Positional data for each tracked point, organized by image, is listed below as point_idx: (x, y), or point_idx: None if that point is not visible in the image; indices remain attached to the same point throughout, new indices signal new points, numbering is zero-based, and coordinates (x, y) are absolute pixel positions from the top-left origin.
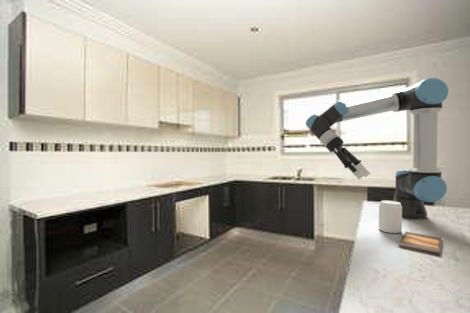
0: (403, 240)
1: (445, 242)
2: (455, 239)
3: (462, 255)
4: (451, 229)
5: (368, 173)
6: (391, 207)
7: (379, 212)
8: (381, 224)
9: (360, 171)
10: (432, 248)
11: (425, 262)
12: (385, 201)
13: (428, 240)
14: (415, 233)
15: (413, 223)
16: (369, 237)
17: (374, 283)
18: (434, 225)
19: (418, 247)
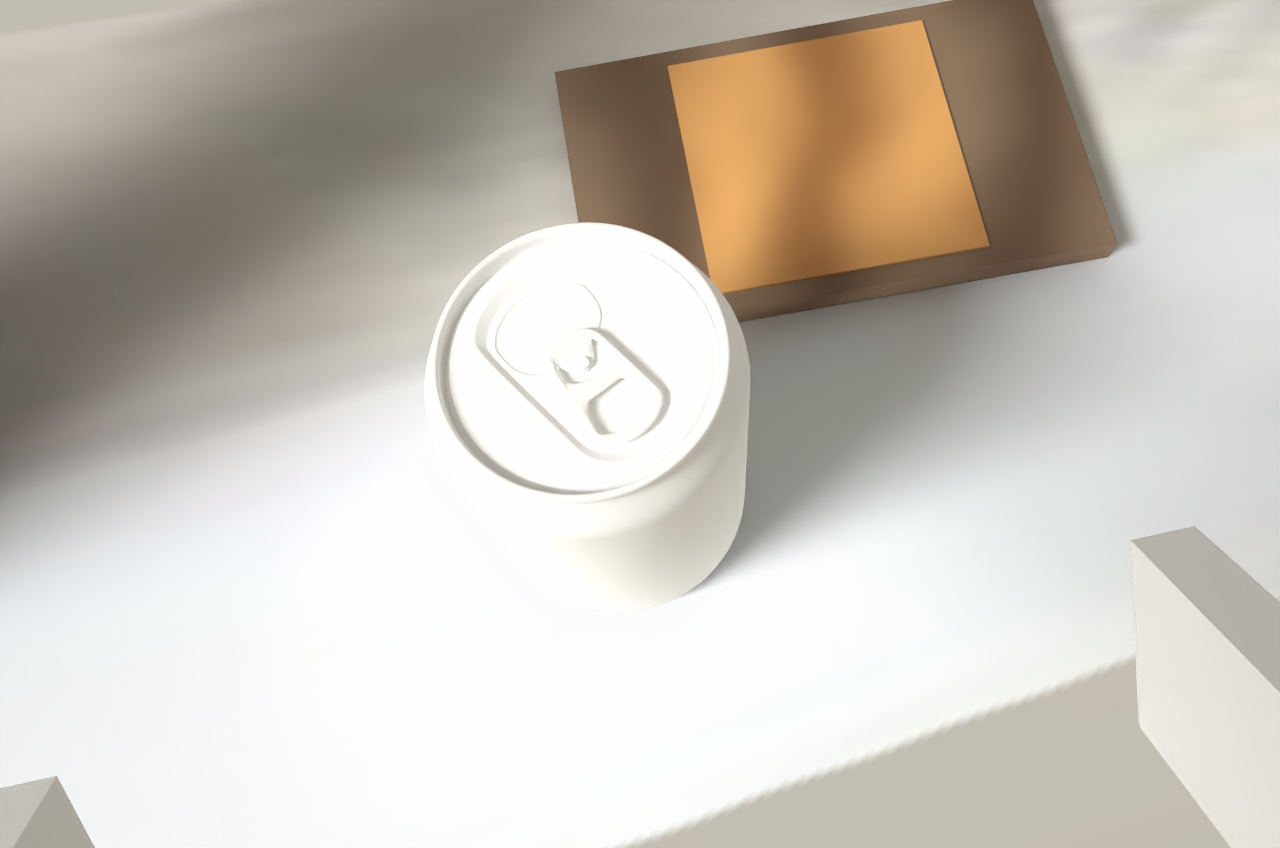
0: (955, 254)
1: (596, 56)
2: (429, 26)
3: None
4: (77, 111)
5: (58, 844)
6: (732, 314)
7: (691, 533)
8: (732, 529)
9: (1277, 634)
10: (962, 45)
11: (1269, 35)
12: (522, 452)
13: (759, 113)
14: None
15: (76, 415)
16: (1077, 555)
17: None
18: (16, 247)
19: (1044, 117)
